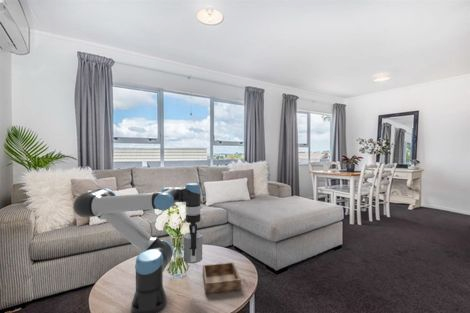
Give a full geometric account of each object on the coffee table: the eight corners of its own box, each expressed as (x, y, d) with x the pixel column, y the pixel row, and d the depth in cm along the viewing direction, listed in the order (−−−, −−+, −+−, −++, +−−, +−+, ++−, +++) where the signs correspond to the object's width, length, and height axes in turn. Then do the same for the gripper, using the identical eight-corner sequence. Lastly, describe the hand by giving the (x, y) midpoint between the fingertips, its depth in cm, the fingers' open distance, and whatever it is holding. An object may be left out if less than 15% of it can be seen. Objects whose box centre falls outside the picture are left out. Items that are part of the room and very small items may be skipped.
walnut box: (205, 294, 116) (205, 283, 116) (202, 274, 134) (202, 265, 134) (240, 290, 120) (240, 279, 119) (233, 271, 138) (233, 262, 138)
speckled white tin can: (198, 264, 115) (198, 239, 115) (180, 262, 117) (180, 238, 116) (205, 255, 124) (205, 232, 124) (188, 254, 126) (188, 231, 126)
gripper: (202, 219, 110) (201, 266, 110) (199, 208, 132) (199, 247, 132) (185, 220, 108) (185, 268, 109) (185, 208, 130) (185, 248, 131)
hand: (193, 256), depth 120 cm, fingers closed on speckled white tin can, 9 cm apart
